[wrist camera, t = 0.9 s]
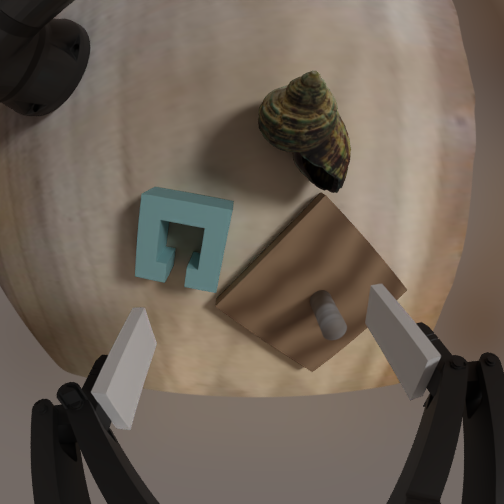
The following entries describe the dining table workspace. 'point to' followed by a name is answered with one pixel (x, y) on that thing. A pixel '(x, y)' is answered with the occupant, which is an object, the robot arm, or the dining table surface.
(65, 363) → the dining table surface
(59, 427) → the robot arm
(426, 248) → the dining table surface
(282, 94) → the seashell
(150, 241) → the teal slotted block
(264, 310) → the post block
